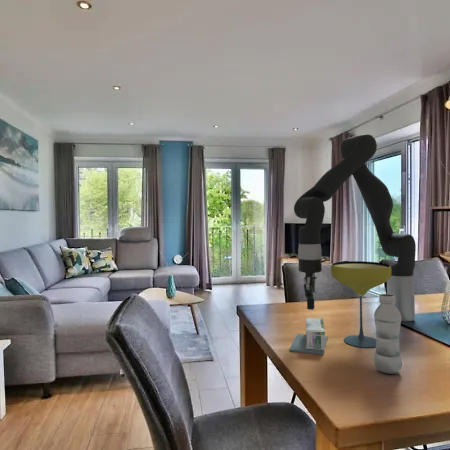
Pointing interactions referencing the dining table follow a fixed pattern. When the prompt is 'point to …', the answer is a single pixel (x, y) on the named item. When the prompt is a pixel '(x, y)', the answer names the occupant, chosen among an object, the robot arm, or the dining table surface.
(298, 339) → the mat
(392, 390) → the dining table surface
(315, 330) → the syrup box
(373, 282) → the cocktail glass
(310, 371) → the dining table surface
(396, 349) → the plastic bottle
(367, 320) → the dining table surface
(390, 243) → the robot arm
